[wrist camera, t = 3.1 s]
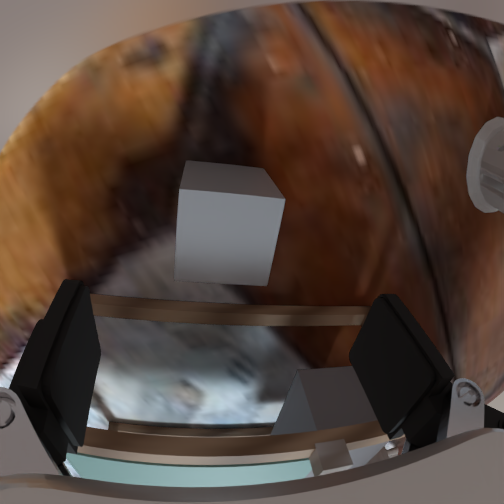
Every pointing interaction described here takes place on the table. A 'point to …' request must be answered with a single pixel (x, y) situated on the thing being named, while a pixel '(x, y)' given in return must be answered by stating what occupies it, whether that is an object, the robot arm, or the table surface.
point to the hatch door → (289, 421)
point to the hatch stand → (240, 439)
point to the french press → (487, 167)
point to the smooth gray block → (226, 224)
